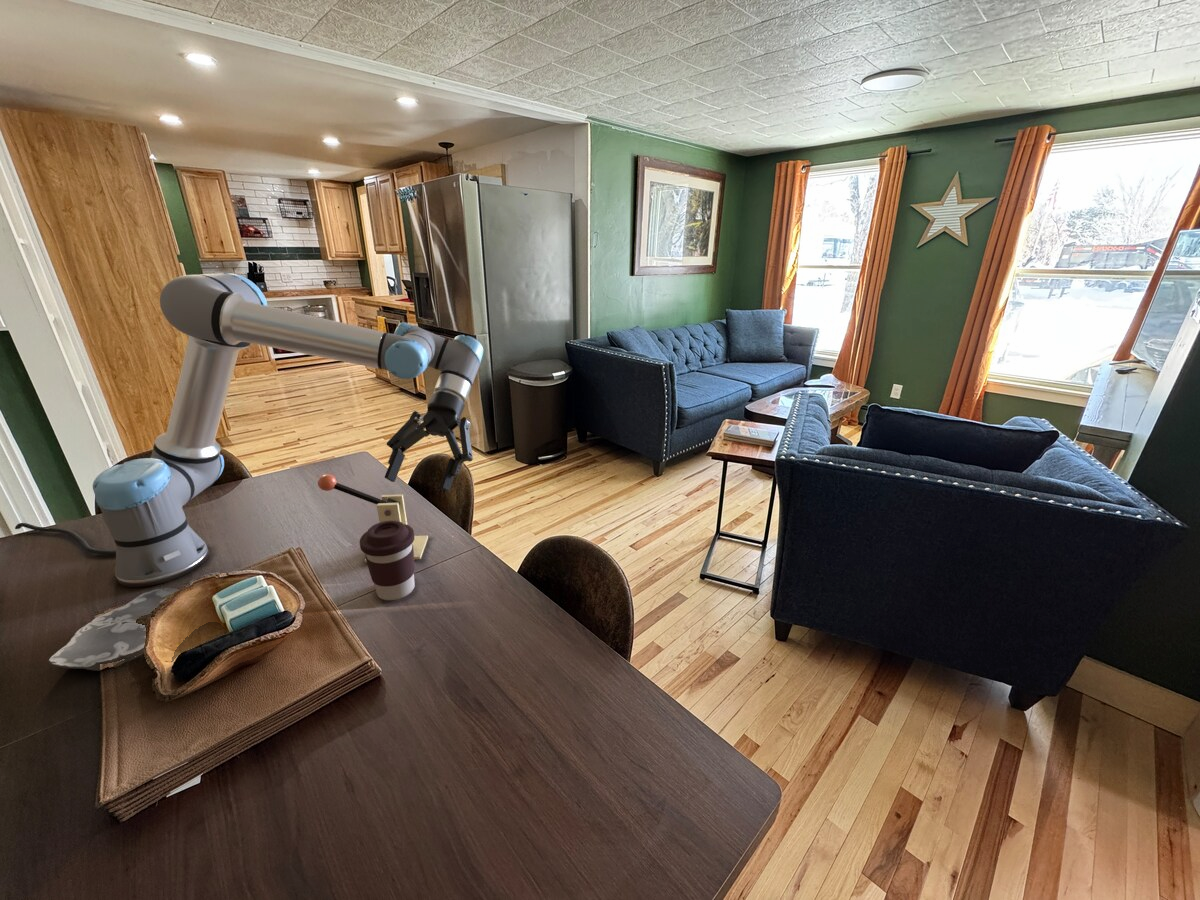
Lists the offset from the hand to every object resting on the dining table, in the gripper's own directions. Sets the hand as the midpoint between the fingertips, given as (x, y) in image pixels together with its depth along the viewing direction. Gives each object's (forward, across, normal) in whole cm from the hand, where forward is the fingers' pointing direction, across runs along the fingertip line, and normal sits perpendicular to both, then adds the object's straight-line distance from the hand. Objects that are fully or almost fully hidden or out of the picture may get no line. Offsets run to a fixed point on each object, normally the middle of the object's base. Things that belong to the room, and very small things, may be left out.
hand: (416, 484), depth 101 cm
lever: (+5, +15, -3) cm, 16 cm away
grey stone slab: (+39, +35, +11) cm, 53 cm away
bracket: (+13, +9, -15) cm, 22 cm away
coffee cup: (+22, 0, -6) cm, 23 cm away
